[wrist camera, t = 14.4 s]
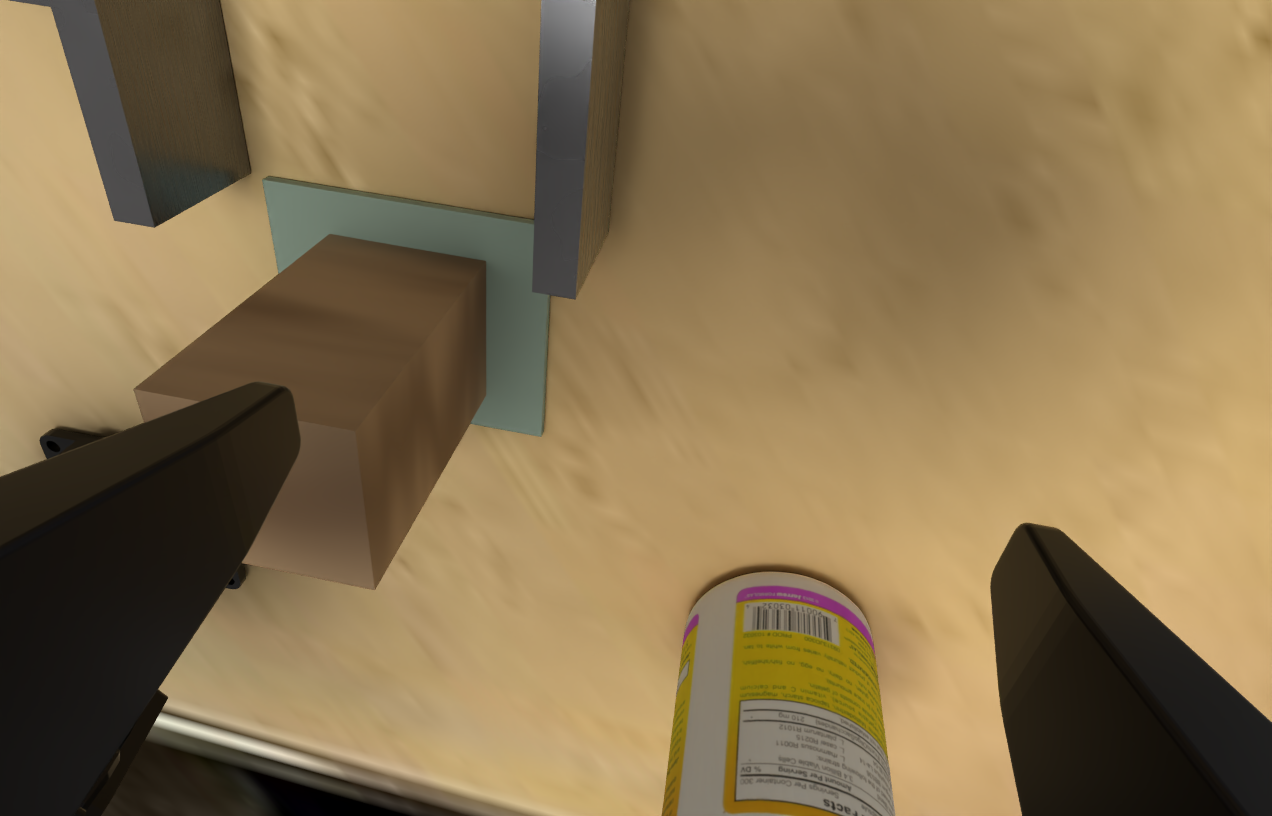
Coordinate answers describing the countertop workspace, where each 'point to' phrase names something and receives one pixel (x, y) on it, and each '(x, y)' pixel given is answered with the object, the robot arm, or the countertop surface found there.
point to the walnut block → (349, 393)
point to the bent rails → (213, 134)
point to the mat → (494, 238)
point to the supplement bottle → (777, 705)
